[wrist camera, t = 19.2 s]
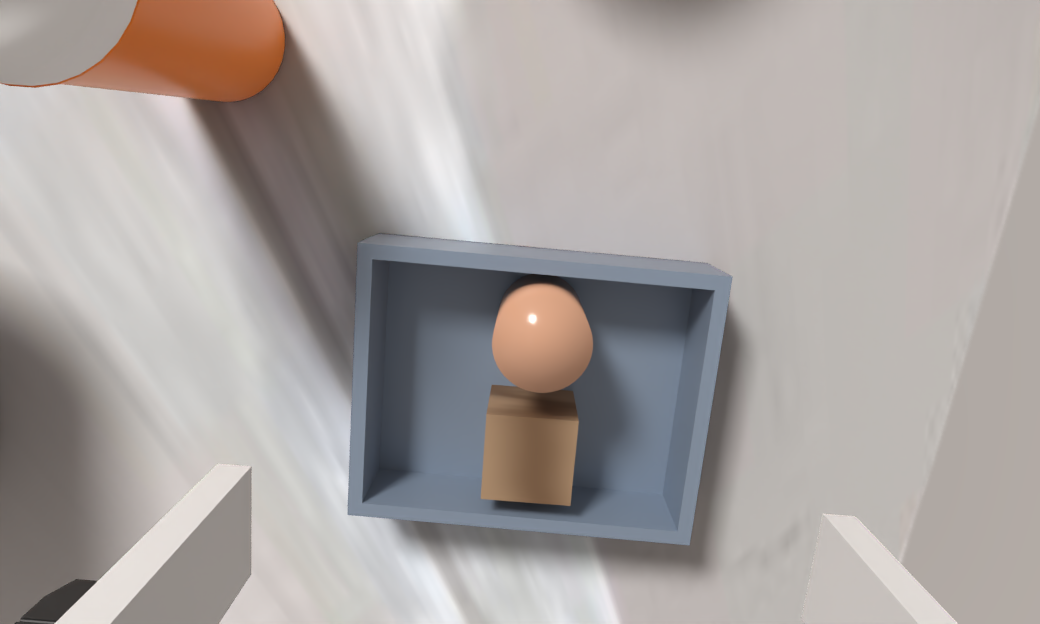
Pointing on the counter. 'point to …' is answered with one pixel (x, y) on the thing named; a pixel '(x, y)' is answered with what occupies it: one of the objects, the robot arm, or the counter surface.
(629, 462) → the tote
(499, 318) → the peach capsule pill
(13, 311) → the counter surface
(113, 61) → the shaker bottle
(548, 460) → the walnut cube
